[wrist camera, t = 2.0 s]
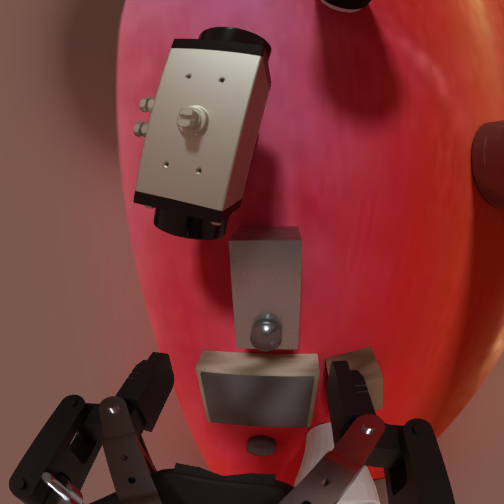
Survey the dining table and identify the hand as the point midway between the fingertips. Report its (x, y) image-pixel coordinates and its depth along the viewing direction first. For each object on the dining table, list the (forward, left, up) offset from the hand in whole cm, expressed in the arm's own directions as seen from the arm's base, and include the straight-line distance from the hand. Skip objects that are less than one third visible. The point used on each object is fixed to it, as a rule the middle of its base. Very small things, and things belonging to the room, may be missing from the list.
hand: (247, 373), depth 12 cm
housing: (0, 0, -13) cm, 13 cm away
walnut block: (-9, +11, -13) cm, 20 cm away
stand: (+1, +13, -13) cm, 19 cm away
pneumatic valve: (+3, -12, -13) cm, 18 cm away
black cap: (+1, +26, -13) cm, 29 cm away
